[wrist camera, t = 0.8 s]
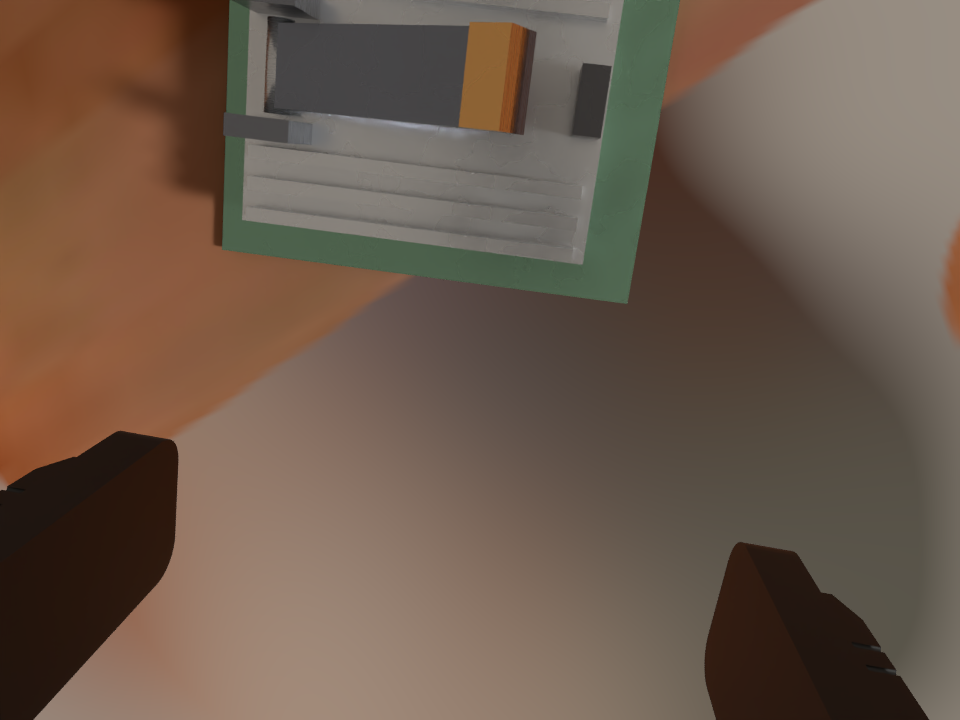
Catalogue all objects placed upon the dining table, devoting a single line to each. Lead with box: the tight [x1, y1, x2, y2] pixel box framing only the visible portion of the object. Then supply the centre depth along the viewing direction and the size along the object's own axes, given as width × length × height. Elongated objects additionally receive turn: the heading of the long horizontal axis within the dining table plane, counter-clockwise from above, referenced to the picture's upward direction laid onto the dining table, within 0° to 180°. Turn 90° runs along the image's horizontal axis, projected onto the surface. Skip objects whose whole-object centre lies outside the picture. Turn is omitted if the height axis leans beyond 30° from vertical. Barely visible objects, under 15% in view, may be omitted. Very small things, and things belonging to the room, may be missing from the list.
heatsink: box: [222, 0, 680, 304], centre depth 30 cm, size 16×19×7 cm
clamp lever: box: [263, 16, 537, 135], centre depth 26 cm, size 12×3×2 cm
